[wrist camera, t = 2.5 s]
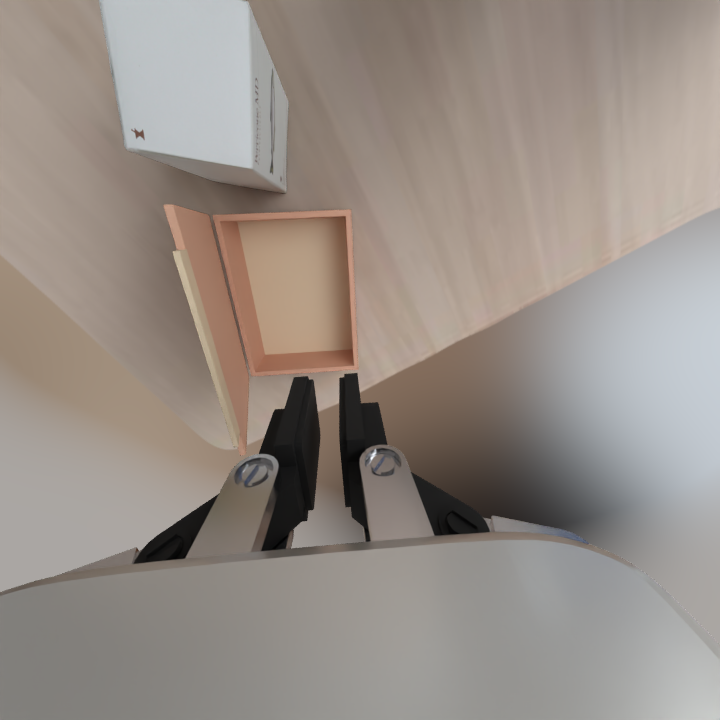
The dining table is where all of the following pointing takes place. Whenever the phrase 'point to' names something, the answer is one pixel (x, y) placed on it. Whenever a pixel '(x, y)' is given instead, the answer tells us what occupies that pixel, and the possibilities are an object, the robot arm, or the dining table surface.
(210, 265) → the lid
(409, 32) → the dining table surface
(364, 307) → the dining table surface
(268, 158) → the supplement box
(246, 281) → the box
